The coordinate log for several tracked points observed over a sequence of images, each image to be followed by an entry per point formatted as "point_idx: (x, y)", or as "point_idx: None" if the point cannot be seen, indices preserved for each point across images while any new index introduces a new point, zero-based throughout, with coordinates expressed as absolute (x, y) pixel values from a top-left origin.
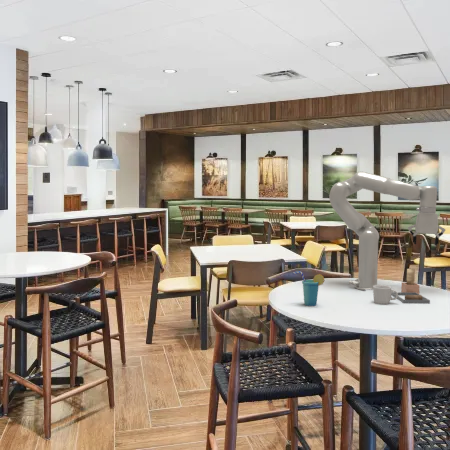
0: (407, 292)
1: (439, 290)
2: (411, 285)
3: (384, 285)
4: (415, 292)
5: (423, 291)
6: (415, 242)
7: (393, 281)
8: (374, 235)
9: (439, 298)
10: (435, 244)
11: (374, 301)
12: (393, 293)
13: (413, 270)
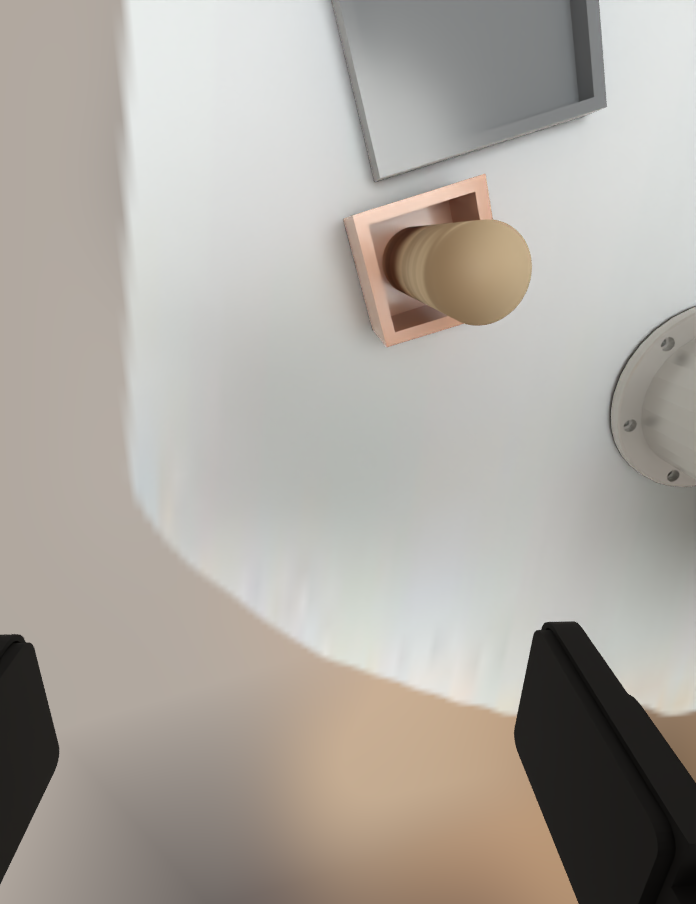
0: (456, 150)
1: (172, 508)
2: (432, 190)
3: None
4: (383, 177)
5: (292, 431)
6: (576, 650)
7: (462, 690)
8: None
9: (177, 176)
10: (15, 655)
11: None
12: (597, 46)
13: (454, 228)
